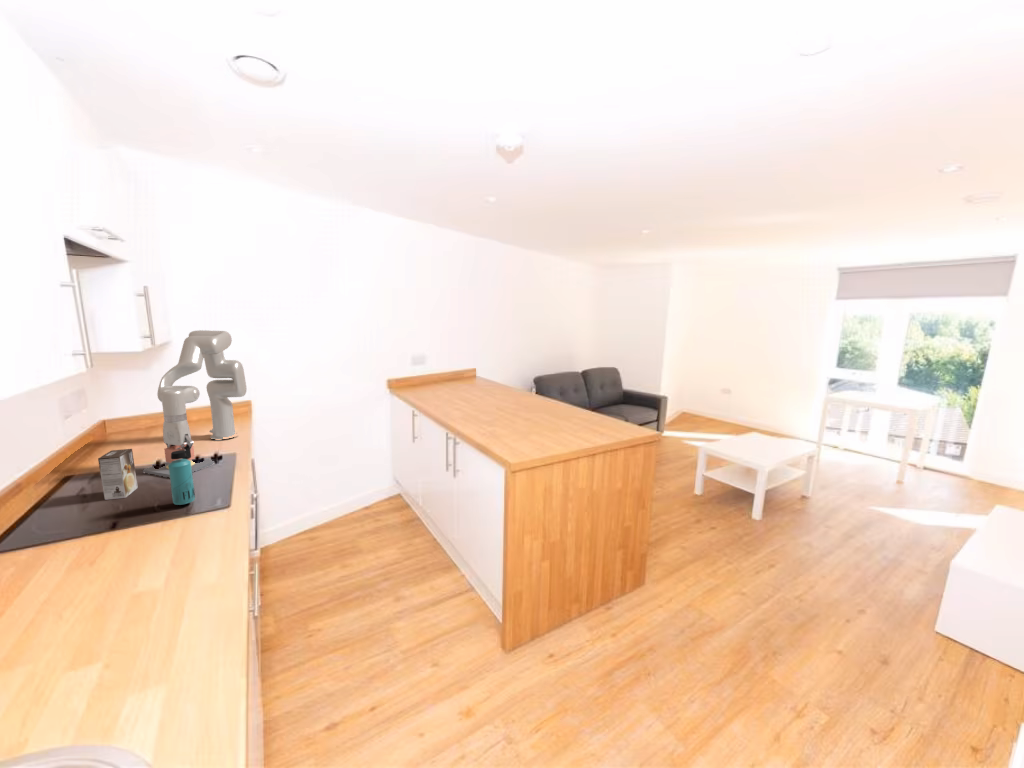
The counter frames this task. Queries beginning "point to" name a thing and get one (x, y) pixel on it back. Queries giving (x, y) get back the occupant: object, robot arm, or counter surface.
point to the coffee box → (118, 474)
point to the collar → (174, 448)
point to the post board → (165, 469)
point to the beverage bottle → (181, 479)
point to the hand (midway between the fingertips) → (180, 457)
